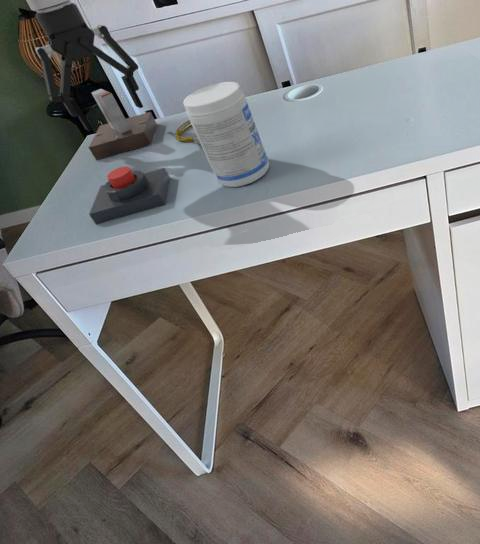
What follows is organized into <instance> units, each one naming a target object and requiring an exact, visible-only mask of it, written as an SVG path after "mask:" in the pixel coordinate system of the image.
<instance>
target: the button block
mask: <svg viewBox="0 0 480 544" xmlns="http://www.w3.org/2000/svg"><path fill="white" fill-rule="evenodd" d="M132 172H133V174H134V176H135V177H136V180H134V181H133V182H132V183H131V184H129V185H127V186H125V187H121V188H113V186H112V185H111V183H110V182H109V180H108V181H107V182H105V184H102V185H100V187H99V189H98V191H97V194H96V195H95V198H94V201H93V204H92V205H91V209H90V211H89V213H88V215H89V217H90V218H91V219H92V221H93V222H94V224H95V225H99V224H102V223H106V222H111V221H113V220H117V219H120V218H124V217H128V216H131V215H134V214H138V213H141V212H145V211H149V210H152V209H156V208H158V207H162V206H165V205H166V202H167V197H168V192H169V186H170V182H171V181H170V180H171V176H170V174H169V173H168V171H167V169H166V167H162V168H159V169H155V170H152V171H147V172H143V171H141V170H132Z"/></svg>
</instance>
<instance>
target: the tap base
mask: <svg viewBox="0 0 480 544" xmlns="http://www.w3.org/2000/svg"><path fill="white" fill-rule="evenodd" d="M125 119H126V121H127V123H128V125H129V127H130V128H131V130H129V131H127V132H125V133H122V134H121V133H120V132H118V131H116V130H114V129H113V128H111V127H110V125H109V123H108V122H107V123H105V124H101V125H99V126H98V128H97V129H96V131H95V134H94V136H93V138H92V140H91V142H90V143H89V145H88V149H89V151H90V153H91V154H92V156H93V157H94V159H95V160H96V161H97V160H101V159H105V158H109V157H111V156H116V155H119V154H123V153H127V152H129V151H133V150H137V149H141V148H144V147H148V146H151V145H152V142H153V137H154V134H155V131H156V127H157V122H156V119H155V118H154V116H153V113H152V112H151V111H149V112H145V113H141V114H137V115H134V116H130V117H127V118H126V117H125ZM126 151H127V152H126Z"/></svg>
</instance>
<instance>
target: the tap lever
mask: <svg viewBox="0 0 480 544" xmlns="http://www.w3.org/2000/svg"><path fill="white" fill-rule="evenodd" d="M91 95H92V97H93V98H94V100H95V102H96V104H97V105H98V107H99V109H100V111H101V113H102V114H103V116H104V118H105V119H106V121H107V124H108V123H109V125H110V127H111V128H113V129H114V130H116V131H118V132H120V133H121V134H122V133H125V132H127V131H129V130H131V128H130V127H129V125H128V123H127V121H126V117H125V116H124V114H123V112H122V110H121V107H120V106H119V104H118V102H117V100H116V99H115V97H114V95H113V93H112V92H110V91H108V90H105V89H103V88H99V89H96V90H93V91H92V92H91Z"/></svg>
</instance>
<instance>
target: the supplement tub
mask: <svg viewBox="0 0 480 544" xmlns="http://www.w3.org/2000/svg"><path fill="white" fill-rule="evenodd" d="M182 104H183V106H184V108H185V112H186V115H187V118H188V119H189V120H190V122H191V124H190V125H192V126H191V127H192V128H193V130H194V133H195V135H196V136H197V137H198V139H199V141H200V144H201V145H200V144H199V145H200V146H201V149H202V150H203V152H204V154H205V157H206V159H207V161H208V163H209V166H210V167H211V170H212V172H213V174H214V177H215V179H216V181H217V182H218V183H219V184H220V185H222V186H224V187H228V188H237V187H243V186H246V185H249V184H251V183H254V182H256V181H258V180H259V179H260V178H261V179H262V177H263V176H265V174H266V173H267V172H268V171H269V167H270V162H269V159H268V155H267V152H266V150H265V147H264V145H263V142H262V140H261V137H260V134H259V132H258V128H257V126H256V122H255V120H254V118H253V115H252V112H251V110H250V106H249V104H248V101H247V99H246V96H245V93H244V92H243V90H242V87H241V85H240V84H239V83H238V82H235V81H223V82H218V83H213V84H209V85H207V86H204V87H201V88H199V89H197V90H195V91H193V92H192V93H190V94H189V95H187V96H186V97H185V98H184V100H183V103H182ZM189 120H188V121H189Z"/></svg>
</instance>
